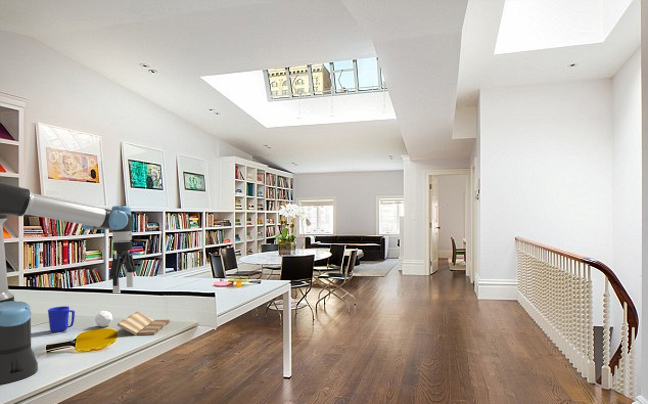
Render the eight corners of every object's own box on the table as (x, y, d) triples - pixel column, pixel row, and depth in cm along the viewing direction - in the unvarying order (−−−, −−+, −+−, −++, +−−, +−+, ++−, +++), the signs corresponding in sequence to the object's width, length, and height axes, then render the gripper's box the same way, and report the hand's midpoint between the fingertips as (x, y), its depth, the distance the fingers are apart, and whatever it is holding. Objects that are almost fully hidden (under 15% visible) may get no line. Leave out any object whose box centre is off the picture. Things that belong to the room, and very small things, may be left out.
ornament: (93, 329, 194) (89, 313, 198) (105, 330, 201) (101, 315, 204) (105, 321, 194) (102, 305, 197) (117, 323, 200) (113, 308, 204)
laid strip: (154, 334, 184) (154, 331, 184) (136, 335, 183) (136, 332, 183) (170, 322, 204) (169, 319, 204) (154, 322, 203) (154, 319, 203)
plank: (135, 335, 183) (137, 332, 183) (116, 325, 183) (118, 322, 183) (153, 322, 203) (154, 319, 203) (136, 313, 203) (137, 310, 203)
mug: (67, 333, 188) (66, 311, 188) (43, 332, 191) (43, 310, 191) (81, 328, 196) (80, 306, 196) (58, 327, 199) (58, 306, 199)
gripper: (118, 243, 174) (119, 295, 174) (142, 238, 199) (143, 284, 199) (99, 244, 174) (100, 296, 174) (125, 239, 199) (127, 285, 199)
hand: (123, 290), depth 187 cm, fingers open, 13 cm apart
